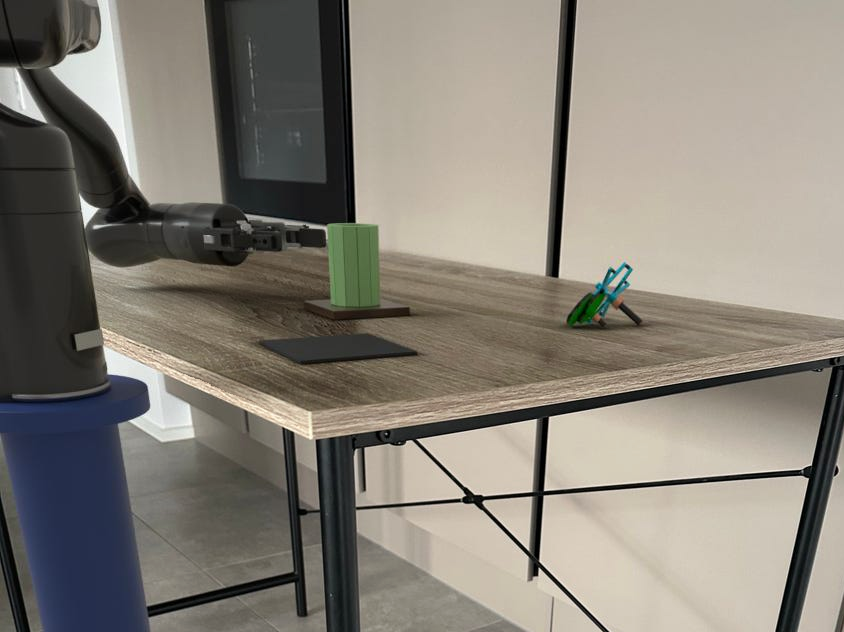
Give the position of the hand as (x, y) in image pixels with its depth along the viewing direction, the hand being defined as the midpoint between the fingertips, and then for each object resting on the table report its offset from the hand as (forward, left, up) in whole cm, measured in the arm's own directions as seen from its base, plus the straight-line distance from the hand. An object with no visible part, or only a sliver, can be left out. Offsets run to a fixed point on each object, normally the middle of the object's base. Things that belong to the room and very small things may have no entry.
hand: (302, 240), depth 117 cm
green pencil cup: (+4, -7, -7) cm, 10 cm away
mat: (-8, -30, -8) cm, 32 cm away
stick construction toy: (+27, -28, -8) cm, 40 cm away
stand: (+4, -7, -8) cm, 11 cm away
